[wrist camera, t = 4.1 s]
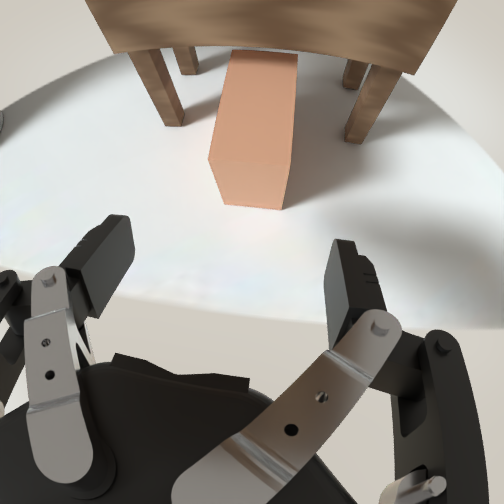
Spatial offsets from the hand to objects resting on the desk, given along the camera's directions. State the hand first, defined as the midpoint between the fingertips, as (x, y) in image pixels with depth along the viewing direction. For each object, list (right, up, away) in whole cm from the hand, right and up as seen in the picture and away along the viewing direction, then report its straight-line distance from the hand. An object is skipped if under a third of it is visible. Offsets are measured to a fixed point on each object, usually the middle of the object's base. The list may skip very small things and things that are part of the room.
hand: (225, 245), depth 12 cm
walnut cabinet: (+2, +14, +14) cm, 20 cm away
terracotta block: (+2, +8, +13) cm, 15 cm away
